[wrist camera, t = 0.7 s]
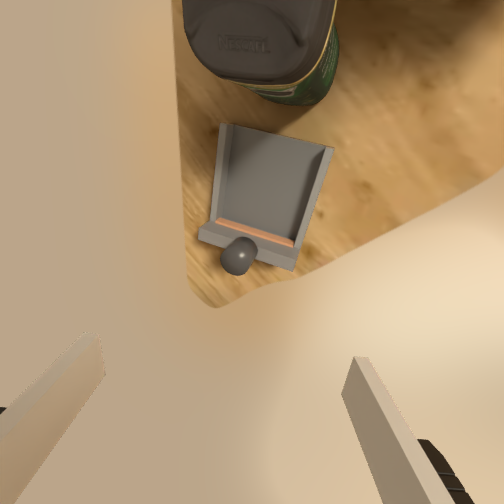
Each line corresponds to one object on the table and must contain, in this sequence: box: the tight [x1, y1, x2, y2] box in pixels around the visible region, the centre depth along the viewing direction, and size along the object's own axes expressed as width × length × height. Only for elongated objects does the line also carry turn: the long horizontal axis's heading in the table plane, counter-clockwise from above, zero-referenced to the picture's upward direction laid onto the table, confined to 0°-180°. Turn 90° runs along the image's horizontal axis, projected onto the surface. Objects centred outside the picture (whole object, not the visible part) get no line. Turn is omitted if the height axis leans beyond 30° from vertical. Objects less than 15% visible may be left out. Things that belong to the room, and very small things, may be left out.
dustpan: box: [198, 123, 334, 276], centre depth 32 cm, size 17×15×11 cm
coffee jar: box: [182, 0, 339, 106], centre depth 20 cm, size 10×8×19 cm
